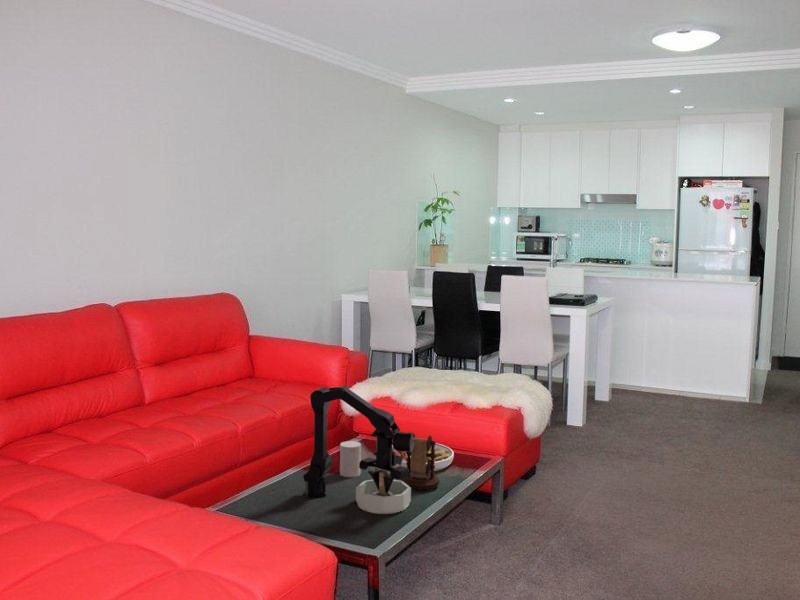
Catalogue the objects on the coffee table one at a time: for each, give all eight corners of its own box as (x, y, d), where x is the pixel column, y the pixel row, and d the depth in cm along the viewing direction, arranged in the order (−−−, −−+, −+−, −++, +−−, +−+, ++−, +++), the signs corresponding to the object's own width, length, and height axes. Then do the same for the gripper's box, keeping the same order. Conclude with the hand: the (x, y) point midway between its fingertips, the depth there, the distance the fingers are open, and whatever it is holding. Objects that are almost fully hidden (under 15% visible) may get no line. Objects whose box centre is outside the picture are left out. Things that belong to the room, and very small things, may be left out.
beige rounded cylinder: (380, 499, 266) (381, 474, 265) (377, 496, 269) (378, 471, 268) (388, 498, 267) (389, 473, 266) (385, 495, 270) (385, 470, 269)
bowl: (427, 448, 335) (428, 431, 334) (467, 468, 309) (468, 449, 308) (368, 458, 319) (368, 440, 319) (405, 480, 294) (405, 460, 293)
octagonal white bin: (368, 517, 256) (369, 500, 255) (350, 498, 273) (350, 482, 272) (417, 509, 263) (418, 493, 263) (396, 491, 280) (396, 476, 279)
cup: (351, 478, 293) (351, 448, 292) (335, 474, 298) (336, 444, 297) (364, 473, 300) (365, 443, 298) (349, 468, 305) (349, 439, 303)
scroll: (395, 489, 283) (396, 437, 281) (408, 476, 297) (409, 427, 294) (432, 494, 278) (434, 442, 276) (444, 482, 292) (445, 431, 290)
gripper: (419, 449, 266) (418, 491, 268) (378, 438, 278) (377, 479, 280) (399, 456, 258) (398, 500, 259) (358, 445, 269) (357, 487, 271)
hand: (383, 491), depth 268 cm, fingers closed on beige rounded cylinder, 3 cm apart
